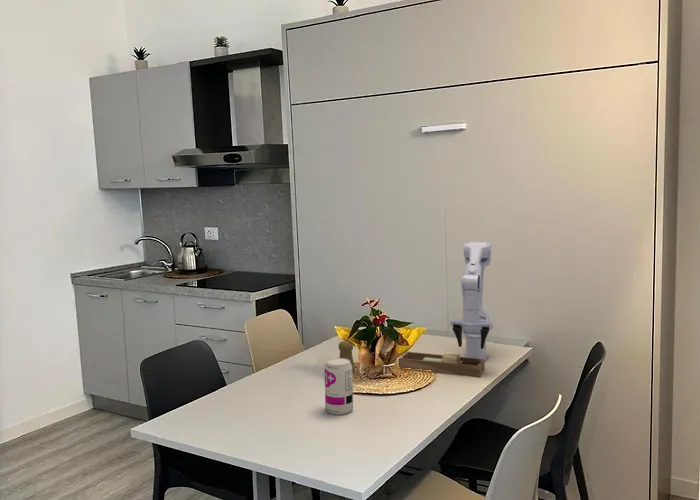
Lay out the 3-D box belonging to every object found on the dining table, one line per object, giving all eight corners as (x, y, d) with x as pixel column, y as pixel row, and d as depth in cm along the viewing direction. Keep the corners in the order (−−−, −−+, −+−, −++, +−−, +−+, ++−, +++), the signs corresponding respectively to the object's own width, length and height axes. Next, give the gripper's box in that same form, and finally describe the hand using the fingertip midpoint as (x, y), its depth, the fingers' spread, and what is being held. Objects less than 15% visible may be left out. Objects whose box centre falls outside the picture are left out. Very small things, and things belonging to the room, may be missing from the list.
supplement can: (333, 417, 180) (331, 367, 178) (321, 408, 187) (319, 360, 185) (357, 412, 184) (356, 362, 182) (345, 403, 191) (344, 355, 189)
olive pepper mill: (355, 369, 224) (355, 339, 223) (354, 374, 218) (353, 344, 217) (338, 369, 224) (338, 339, 223) (336, 374, 219) (336, 343, 217)
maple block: (445, 360, 224) (445, 352, 223) (459, 361, 222) (459, 353, 222) (442, 364, 219) (442, 356, 219) (456, 365, 217) (456, 357, 217)
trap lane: (406, 361, 232) (406, 351, 232) (484, 369, 221) (484, 359, 221) (398, 368, 223) (398, 358, 223) (479, 377, 212) (479, 366, 212)
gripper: (447, 309, 213) (447, 348, 215) (490, 312, 207) (490, 352, 209) (452, 305, 219) (452, 342, 221) (494, 308, 214) (493, 346, 216)
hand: (471, 347), depth 216 cm, fingers open, 7 cm apart
